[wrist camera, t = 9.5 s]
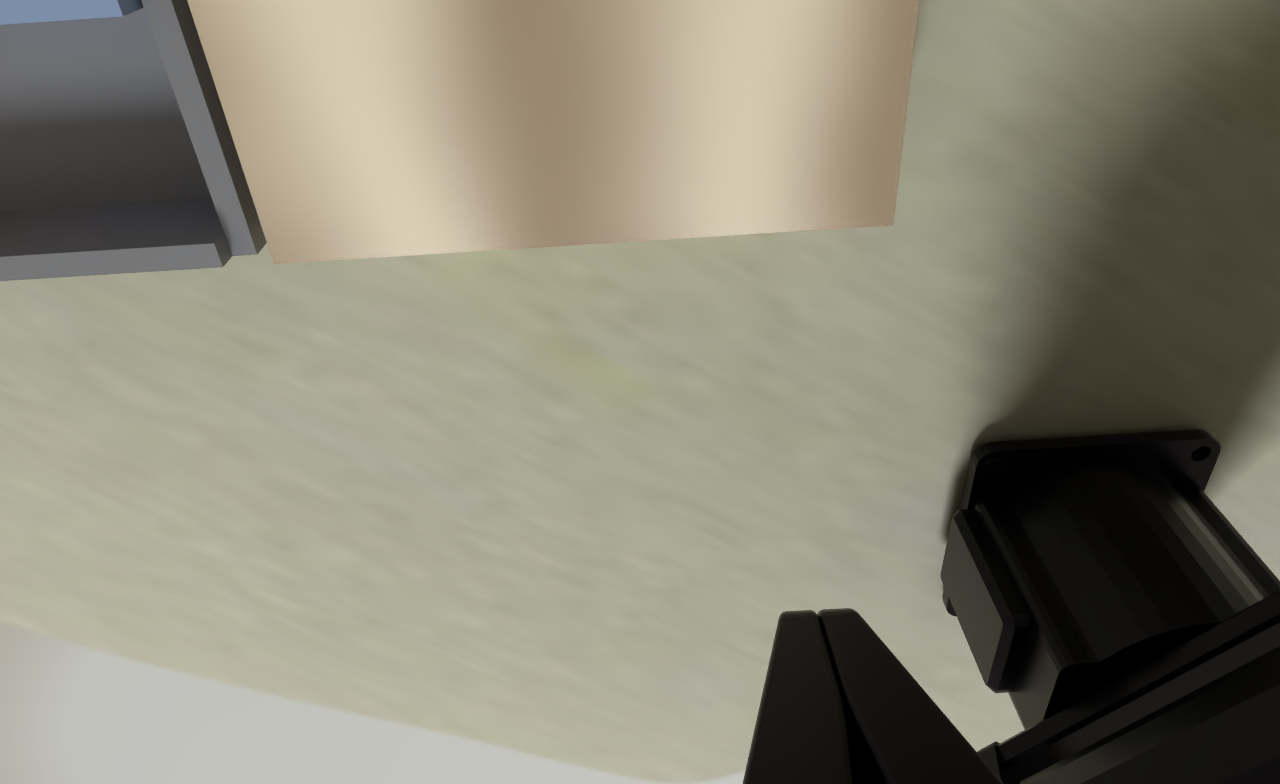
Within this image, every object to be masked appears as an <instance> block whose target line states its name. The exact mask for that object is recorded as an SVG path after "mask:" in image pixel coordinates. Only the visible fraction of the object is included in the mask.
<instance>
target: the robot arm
mask: <svg viewBox="0 0 1280 784" xmlns="http://www.w3.org/2000/svg"><path fill="white" fill-rule="evenodd" d="M1198 447H1200V448H1198ZM1197 448H1198V449H1197ZM1220 448H1221V447H1220V445H1219V442H1218V441H1217V440H1216V439H1215V438H1214V437H1213V436H1212V435H1211V434H1210V433H1209V432H1207V431H1205V430H1186V431H1169V432H1152V433H1135V434H1118V435H1101V436H1084V437H1067V438H1050V439H1033V440H1016V441H999V442H990V443H985V444H983V445H981V446H979V447H978V448H977V449H976V450H975V451H974V452H973V454H972V456H971V460H970V465H969V470H968V474H967V479H966V484H965V489H964V494H963V499H962V504H961V509H960V510H958V511H957V512H956V513H955V514H954V516H953V517H952V520H951V525H950V530H949V535H948V540H947V545H946V550H945V555H944V560H943V565H942V570H941V580H942V582H943V584H944V592H943V602H944V605H945V607H946V610H947V611H948V613H949V614H951V615H953V616H957V618H958V620H959V623H960V625H961V627H962V630H963V632H964V634H965V637H966V639H967V642H968V644H969V646H970V649H971V651H972V654H973V656H974V658H975V661H976V663H977V666H978V668H979V670H980V673H981V675H982V677H983V680H984V682H985V684H986V685H987V686H988V687H989V688H990V689H991V690H992V691H993V692H995V693H1004V692H1008V693H1009V695H1010V697H1011V700H1012V702H1013V704H1014V707H1015V709H1016V711H1017V713H1018V716H1019V718H1020V720H1021V722H1022V725H1023V727H1024V729H1025V730H1024V731H1022V732H1020V733H1018V734H1017V735H1015V736H1013V737H1011V738H1009V739H1007V740H1006V741H1004V742H1002V743H998V742H994V743H992V744H990V745H988V746H987V747H985V748H983V749H981V750H979V751H978V752H976V751H975V750H974V749H973V747H972V746H971V745H970V744H969V743H968V742H967V740H966V739H965V738H964V737H963V736H962V734H961V733H960V732H959V731H958V730H957V729H956V727H955V726H954V725H953V724H952V723H951V722H950V720H949V719H948V718H947V717H946V716H945V714H944V713H943V712H942V711H941V710H940V709H939V707H938V706H937V705H936V704H935V703H934V702H933V700H932V699H931V698H930V697H929V696H928V695H927V693H926V692H925V691H924V690H923V689H922V687H921V686H920V685H919V684H918V683H917V682H916V680H915V679H914V678H913V677H912V676H911V675H910V673H909V672H908V671H907V670H906V669H905V667H904V666H903V665H902V664H901V663H900V662H899V660H898V659H897V658H896V657H895V656H894V655H893V653H892V652H891V651H890V650H889V649H888V647H887V646H886V645H885V644H884V643H883V642H882V640H881V639H880V638H879V637H878V636H877V635H876V633H875V632H874V631H873V630H872V629H871V628H870V626H869V625H868V624H867V623H866V622H865V620H864V619H863V618H862V617H861V616H860V615H859V614H858V613H857V612H856V611H855V610H853V609H849V608H843V609H824V610H821V611H819V612H818V614H816V613H815V612H814V611H811V610H804V611H786V612H783V613H781V615H780V617H779V621H778V625H777V630H776V634H775V639H774V643H773V648H772V652H771V657H770V662H769V666H768V671H767V675H766V680H765V684H764V689H763V693H762V698H761V703H760V707H759V712H758V716H757V721H756V725H755V730H754V735H753V739H752V744H751V748H750V753H749V757H748V762H747V766H746V771H745V776H744V781H743V784H1280V581H1279V579H1278V578H1277V577H1276V576H1275V575H1274V574H1273V572H1272V571H1271V570H1270V569H1269V568H1268V567H1267V565H1266V564H1265V563H1264V562H1263V561H1262V560H1261V558H1260V557H1259V556H1258V555H1257V554H1256V553H1255V551H1254V550H1253V549H1252V548H1251V547H1250V546H1249V544H1248V543H1247V542H1246V541H1245V540H1244V539H1243V537H1242V536H1241V535H1240V534H1239V533H1238V531H1237V530H1236V529H1235V528H1234V527H1233V526H1232V524H1231V523H1230V522H1229V521H1228V520H1227V519H1226V517H1225V516H1224V515H1223V514H1222V513H1221V512H1220V510H1219V509H1218V508H1217V507H1216V506H1215V505H1214V503H1213V502H1212V501H1211V500H1210V499H1209V498H1208V496H1207V495H1206V494H1205V493H1204V490H1205V487H1206V485H1207V482H1208V480H1209V478H1210V475H1211V473H1212V470H1213V468H1214V465H1215V463H1216V461H1217V458H1218V456H1219V453H1220ZM1195 449H1197V450H1195ZM1194 450H1195V451H1194ZM995 458H997V460H996V461H994V462H993V463H989V464H987V462H988V461H990V460H991V459H995Z"/></svg>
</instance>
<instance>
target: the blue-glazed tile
mask: <svg viewBox="0 0 1280 784" xmlns="http://www.w3.org/2000/svg"><path fill="white" fill-rule="evenodd" d="M142 8H144V7H143V4H142V1H141V0H0V25H4V24H19V23H33V22H48V21H63V20H78V19H92V18H107V17H122V16H125V15H128V14H130V13H132V12H135V11H137V10H139V9H142Z"/></svg>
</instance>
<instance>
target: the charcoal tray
mask: <svg viewBox="0 0 1280 784" xmlns="http://www.w3.org/2000/svg"><path fill="white" fill-rule="evenodd" d="M141 1H142V4H143V7H144V8H142V9H139V10H137V11H135V12H132V13H130V14H128V15H125V16H122V17H107V18H92V19H78V20H63V21H48V22H33V23H19V24H4V25H0V281H8V280H24V279H40V278H56V277H72V276H88V275H104V274H120V273H136V272H152V271H168V270H184V269H200V268H216V267H223V266H224V265H225V264H226V263H227V262H228V260H229V259H230V258H231V257H232V256H239V255H255V254H258V253H259V252H260V250H261V249H262V248H263V247H264V245H265V244H266V243H267V242H266V239H265V236H264V232H263V229H262V226H261V223H260V220H259V217H258V214H257V211H256V208H255V205H254V202H253V199H252V196H251V193H250V190H249V187H248V184H247V181H246V178H245V175H244V172H243V169H242V166H241V163H240V159H239V156H238V153H237V150H236V147H235V144H234V141H233V138H232V135H231V132H230V129H229V126H228V123H227V120H226V117H225V114H224V111H223V108H222V105H221V102H220V99H219V96H218V93H217V90H216V87H215V83H214V80H213V77H212V74H211V71H210V68H209V65H208V62H207V59H206V56H205V53H204V50H203V47H202V44H201V41H200V38H199V35H198V32H197V29H196V26H195V23H194V20H193V17H192V14H191V11H190V7H189V4H188V1H187V0H141Z"/></svg>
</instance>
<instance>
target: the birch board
mask: <svg viewBox="0 0 1280 784" xmlns="http://www.w3.org/2000/svg"><path fill="white" fill-rule="evenodd" d="M187 1H188V4H189V7H190V11H191V14H192V17H193V20H194V23H195V26H196V29H197V32H198V35H199V38H200V41H201V44H202V47H203V50H204V53H205V56H206V59H207V62H208V65H209V68H210V71H211V74H212V77H213V80H214V83H215V87H216V90H217V93H218V96H219V99H220V102H221V105H222V108H223V111H224V114H225V117H226V120H227V123H228V126H229V129H230V132H231V135H232V138H233V141H234V144H235V147H236V150H237V153H238V156H239V159H240V163H241V166H242V169H243V172H244V175H245V178H246V181H247V184H248V187H249V190H250V193H251V196H252V199H253V202H254V205H255V208H256V211H257V214H258V217H259V220H260V223H261V226H262V229H263V232H264V236H265V239H266V242H267V245H268V248H269V251H270V254H271V257H272V260H273V263H274V264H280V263H296V262H312V261H328V260H344V259H360V258H376V257H392V256H408V255H424V254H440V253H456V252H472V251H488V250H504V249H520V248H536V247H552V246H568V245H584V244H600V243H616V242H632V241H648V240H664V239H680V238H696V237H711V236H727V235H743V234H759V233H775V232H791V231H807V230H823V229H839V228H855V227H871V226H887V225H893V223H894V215H895V206H896V197H897V189H898V180H899V172H900V163H901V155H902V146H903V137H904V129H905V120H906V112H907V103H908V94H909V86H910V77H911V69H912V60H913V52H914V43H915V34H916V26H917V17H918V9H919V0H187Z"/></svg>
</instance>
